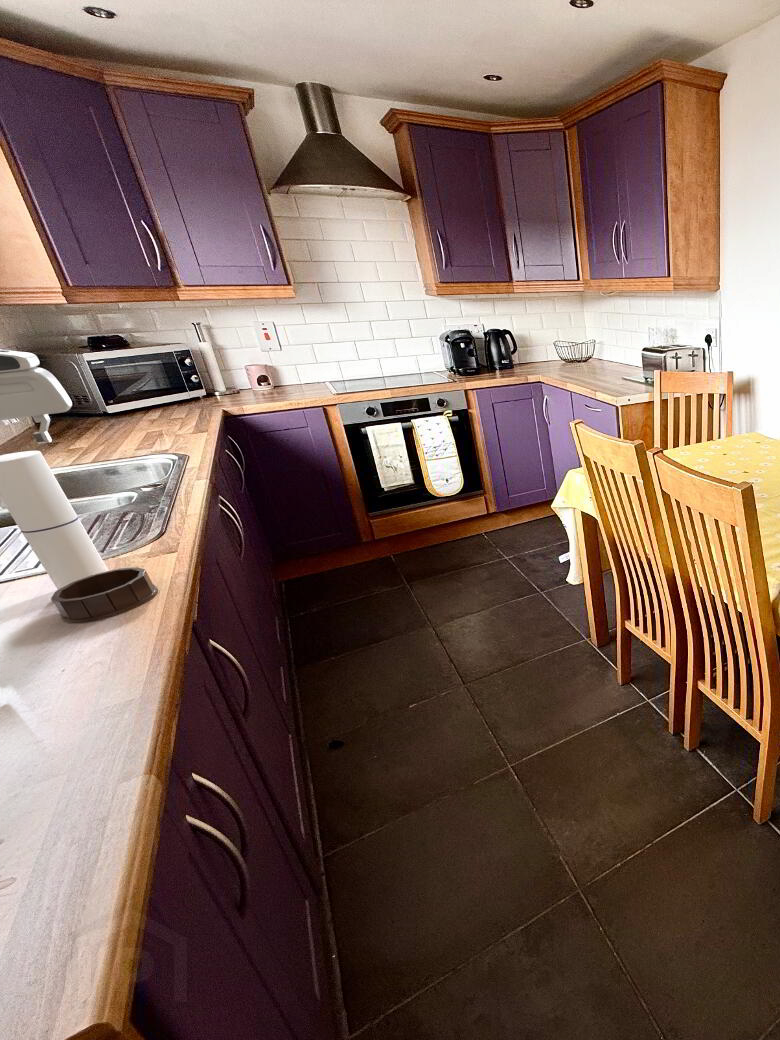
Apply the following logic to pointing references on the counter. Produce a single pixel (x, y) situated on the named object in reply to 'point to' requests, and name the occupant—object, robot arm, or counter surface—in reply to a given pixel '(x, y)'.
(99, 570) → the cylindrical container
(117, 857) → the counter surface
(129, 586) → the ring
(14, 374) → the robot arm
